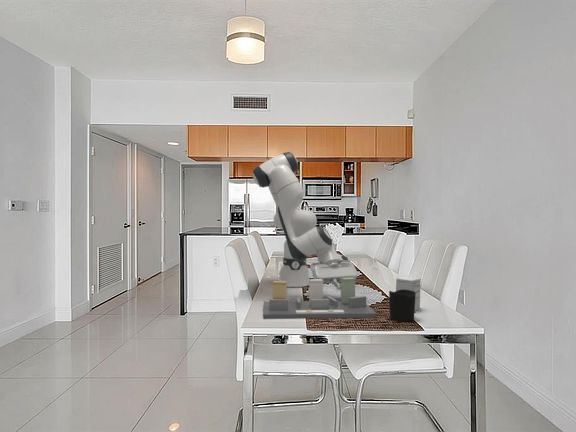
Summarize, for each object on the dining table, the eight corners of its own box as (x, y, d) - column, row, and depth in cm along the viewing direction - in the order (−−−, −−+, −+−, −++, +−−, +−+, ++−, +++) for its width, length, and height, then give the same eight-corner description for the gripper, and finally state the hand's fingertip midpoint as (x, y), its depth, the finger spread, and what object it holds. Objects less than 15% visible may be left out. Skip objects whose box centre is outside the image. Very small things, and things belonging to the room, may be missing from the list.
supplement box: (395, 309, 175) (395, 278, 174) (403, 306, 180) (404, 275, 180) (412, 312, 170) (412, 280, 169) (420, 309, 175) (421, 277, 175)
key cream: (308, 303, 175) (308, 279, 175) (321, 303, 176) (321, 279, 176) (310, 305, 172) (310, 280, 172) (323, 305, 173) (323, 280, 172)
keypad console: (263, 305, 181) (263, 291, 180) (363, 304, 183) (363, 291, 183) (263, 318, 160) (263, 303, 159) (376, 317, 162) (376, 302, 162)
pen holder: (415, 323, 155) (415, 295, 154) (388, 321, 157) (388, 293, 157) (415, 316, 164) (415, 290, 164) (389, 314, 166) (389, 288, 166)
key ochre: (273, 305, 172) (273, 280, 171) (286, 306, 171) (287, 281, 171) (272, 307, 168) (272, 282, 168) (285, 308, 168) (286, 282, 167)
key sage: (340, 302, 178) (340, 278, 178) (351, 301, 181) (351, 277, 180) (344, 303, 175) (344, 279, 175) (355, 302, 178) (355, 278, 177)
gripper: (311, 258, 183) (321, 285, 175) (352, 257, 192) (364, 282, 183) (306, 267, 188) (316, 294, 179) (346, 265, 196) (358, 291, 187)
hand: (341, 288), depth 181 cm, fingers closed
